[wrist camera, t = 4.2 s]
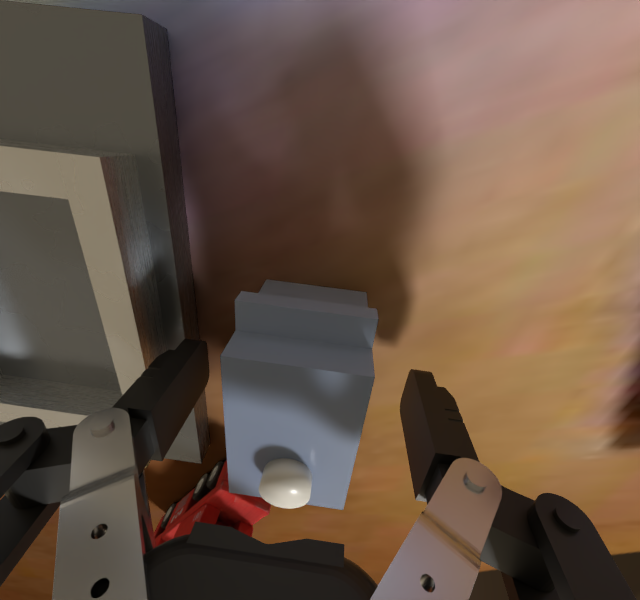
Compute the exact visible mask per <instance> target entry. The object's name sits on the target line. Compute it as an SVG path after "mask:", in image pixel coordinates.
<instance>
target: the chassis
mask: <svg viewBox="0 0 640 600" xmlns="http://www.w3.org/2000/svg"><path fill="white" fill-rule="evenodd" d="M184 339H194V340H199V331H198V322H197V312H196V303H195V293H194V284H193V274H192V264H191V255H190V245H189V236H188V226H187V217H186V207H185V198H184V188H183V179H182V169H181V160H180V150H179V141H178V131H177V122H176V112H175V103H174V93H173V84H172V74H171V64H170V55H169V45H168V36H167V29H165V28H164V27H162V26H160V25H159V24H157V23H155V22H154V21H152V20H150V19H148V18H147V17H145V16H143V15H141V14H131V13H121V12H111V11H101V10H91V9H81V8H70V7H60V6H50V5H40V4H30V3H20V2H10V1H0V425H1V424H3V423H6V422H8V421H11V420H13V419H17V418H21V417H37V418H40V419H41V420H42V421H43V422H44V424H45V426H46V429H48V428H56V427H64V426H72V425H78V424H79V423H80V422H81V421H82V420H83V419H84V418H86V417H87V416H89V415H91V414H92V413H94V412H97V411H99V410H102V409H106V408H112V407H113V406H114V405H115V403H116V402H117V401H118V400H119V399H120V398H121V397H122V396H123V394H124V393H125V392H126V391H127V390H128V389H129V388H130V387H131V385H132V384H133V383H134V382H135V381H136V380H137V379H138V378H139V377H141V374H142V373H143V372H144V371H145V370H146V369H148V366H149V365H150V364H151V363H152V362H153V361H154V360H155V358H156V357H158V356H159V355H161V354H163V353H164V352H166V351H168V350H169V349H170V350H175V349H176V348H177V347H178V346H179V344H180V343H181V342H182V341H183V340H184ZM209 445H210V436H209V426H208V417H207V407H206V398H205V389H204V391H203V392H202V394H201V396H200V397H199V399H198V401H197V403H196V404H195V406H194V408H193V409H192V411H191V413H190V415H189V416H188V418H187V420H186V421H185V423H184V425H183V427H182V428H181V430H180V432H179V433H178V435H177V437H176V438H175V440H174V442H173V444H172V445H171V447H170V449H169V450H168V452H167V454H166V456H165V457H164V458H167V459H173V460H180V461H187V462H194V463H200V464H201V463H202V461H203V459H204V456H205V454H206V452H207V450H208V448H209ZM150 461H151V459H150V460H149V462H148V463H147V465H146V467H147V466H148V464H149V463H150ZM146 467H145V468H146Z"/></svg>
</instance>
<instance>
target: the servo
mask: <svg viewBox="0 0 640 600" xmlns="http://www.w3.org/2000/svg"><path fill="white" fill-rule="evenodd" d="M377 324H378V313H377V309H375V308H368V303H367V292H361V291H353V290H345V289H337V288H330V287H322V286H314V285H306V284H299V283H291V282H283V281H275V280H268V279H266V281H265V283H264V284H263V286H262V288H261V289H260V291H259V293H253V292H245V291H241V292H240V294H239V295H238V296H237V298H236V299H235V327H236V331H235V332H234V334H233V336H232V337H231V339H230V341H229V342H228V344H227V345H226V347H225V349H224V350H223V352H222V354H221V355H220V360H221V375H222V391H223V406H224V422H225V437H226V452H227V468H228V483H229V493H236V494H242V495H249V496H255V497H262V498H263V499H264V500H265V501H266V502H268V503H270V504H272V505H274V506H277V507H281V508H298V507H301V506H304V505H305V504H308V505H314V506H321V507H327V508H334V509H340V510H343V508H344V504H345V500H346V496H347V491H348V487H349V483H350V479H351V475H352V470H353V466H354V462H355V458H356V454H357V449H358V445H359V441H360V437H361V433H362V428H363V424H364V420H365V416H366V412H367V408H368V403H369V399H370V395H371V391H372V387H373V382H374V378H375V375H374V365H373V354H372V347H373V342H374V337H375V333H376V328H377Z"/></svg>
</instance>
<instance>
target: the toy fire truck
mask: <svg viewBox="0 0 640 600" xmlns="http://www.w3.org/2000/svg"><path fill="white" fill-rule="evenodd" d="M270 506H271V504H270V503H268V502H266V501H265V500H264V499H263V498H262V497H255V496H249V495H242V494H236V493H229V483H228V468H227V460H226V461H225V463H224V462H222V461H219V462H218V463H217V464H216V465H215V466H214V468H213V470H212V471H211V473H210V475H209V474H205V475H203V476H202V477H201V479H200V480H199V482H198V484H197V485H196V487H195V488H194V489H193V490H192V491H191V492H189V493H188V494H187V495H186V496H185V497H183V499H181V501H179V502H178V503H173V504H172V505H171V506H170V507H169V509H168V510H167V512H166V514H165V515H164V516H163V517H162V519H161V520H160V522H159V524H158V526H157V528H156V530H155V532H154V537H155V542H156V547H157V546H158V545H160V544H162V543H164V542H166V541H168V540H171V539H173V538H176V537H179V536H183V535H187V534H190V533H191V531H192V528H193V526H194V523H195V521H196V522H202V523H208V524H215V525H221V526H228V527H232V528H234V529H236V530H238V531H240V532H242V533H244V534H246V535H248V536H250V537H252V532H253V524H255V523H256V522H257V521H259V520H260V519H262V518H263V517H264V516H266V515H268V514H269V511H270Z"/></svg>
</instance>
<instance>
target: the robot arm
mask: <svg viewBox="0 0 640 600" xmlns="http://www.w3.org/2000/svg"><path fill="white" fill-rule="evenodd" d="M208 379H209V361H208V351H207V343H206V342H205V341H202V340H194V339H184V340H183V341H182V342H181V343H180V344H179V346H178V347H177V348H176V349H175V350H170V349H169V350H168V351H166V352H164V353H163V354H161V355H159V356H158V357H156V358H155V360H154V361H153V362H152V363H151V364H150V365H149V366H148V369H146V370H145V371H144V372H143V373H142V374H141V377H139V378H138V379H137V380H136V381H135V382H134V383H133V384H132V385H131V387H130V388H129V389H128V390H127V391H126V392H125V393H124V394H123V396H122V397H121V398H120V399H119V400H118V401H117V402H116V403H115V405H114V406H113V407H112V408H106V409H102V410H99V411H97V412H94V413H92V414H91V415H89V416H87V417H86V418H84V419H83V420H82V421H81V422H80V423H79V424H78V425H72V426H64V427H56V428H48V429H46V426H45V424H44V422H43V421H42V420H41V419H40V418H37V417H21V418H17V419H13V420H11V421H8V422H6V423H3V424H1V425H0V498H1V497H2V496H3V495H4V494H5V496H4V497H3V498H2V499H1V500H0V586H1V585H2V583H3V582H4V581H5V579H6V578H7V577H8V575H9V574H10V573H11V571H12V570H13V568H14V567H15V566H16V564H17V563H18V562H19V560H20V559H21V558H22V556H23V555H24V553H25V552H26V551H27V549H28V548H29V547H30V545H31V544H32V542H33V541H34V540H35V538H36V537H37V536H38V534H39V533H40V532H41V530H42V529H43V527H44V526H45V525H46V523H47V522H48V521H49V519H50V518H51V516H52V515H53V514H54V512H55V511H56V510H57V508H58V507H59V506H60V513H59V525H58V537H57V549H56V561H55V573H54V585H53V597H52V600H468V599H469V597H470V594H471V591H472V588H473V586H474V583H475V580H476V577H477V574H478V572H479V569H480V565H481V561H482V562H484V563H486V564H488V565H490V566H492V567H494V568H496V569H498V570H500V571H501V573H502V577H503V580H504V583H505V587H506V590H507V593H508V597H509V600H636V598H635V596H634V595H633V593H632V591H631V589H630V588H629V586H628V584H627V582H626V581H625V579H624V577H623V576H622V574H621V572H620V570H619V569H618V567H617V565H616V563H615V561H614V560H613V558H612V556H611V555H610V553H609V551H608V549H607V548H606V546H605V544H604V542H603V541H602V539H601V537H600V535H599V534H598V532H597V530H596V528H595V527H594V525H593V523H592V522H591V521H590V519H589V518H588V517H587V516H586V515H585V513H584V512H583V511H582V510H580V509H579V508H578V507H577V506H576V505H574V504H573V503H572V502H570V501H569V500H567V499H565V498H563V497H561V496H559V495H556V494H552V493H544V494H541V495H539V496H538V497H537V499H536V500H535V501H534V500H532V499H530V498H527V497H525V496H523V495H520V494H518V493H516V492H514V491H511V490H509V489H507V488H505V487H503V486H502V485H500V483H499V481H498V479H497V478H496V476H495V475H494V474H493V473H492V471H491V470H489V469H488V468H487V467H486V466H485V465H483V464H481V463H480V462H479V460H478V457H477V455H476V452H475V450H474V447H473V445H472V442H471V439H470V437H469V434H468V432H467V429H466V427H465V424H464V423H463V419H462V417H461V414H460V413H459V409H458V407H457V404H456V402H455V399H454V398H453V397H452V395H451V394H450V393H449V392H448V391H447V390H446V388H444V387H437V385H436V382H435V379H434V376H433V374H432V373H431V372H427V371H420V370H413V369H411V370H410V372H409V374H408V378H407V381H406V384H405V388H404V391H403V394H402V398H401V403H400V415H401V420H402V426H403V432H404V437H405V443H406V449H407V454H408V460H409V465H410V471H411V477H412V482H413V488H414V494H415V499H416V500H419V501H425V502H427V507H426V508H425V510H424V512H422V513H421V514H420V516H419V517H418V519H417V521H416V522H415V524H414V526H413V528H412V529H411V531H410V533H409V534H408V536H407V538H406V539H405V541H404V543H403V544H402V546H401V548H400V550H399V551H398V553H397V555H396V556H395V558H394V560H393V561H392V563H391V565H390V567H389V568H388V570H387V572H386V573H385V575H384V577H383V578H382V580H381V582H380V583H379V585H378V586H377V584H376V583H375V582H374V581H373V579H372V578H371V577H370V576H369V575H368V574H367V573H366V572H365V571H364V570H363V569H361V568H360V567H359V566H358V565H356V564H355V563H353V562H352V561H350V560H348V559H346V558H344V544H338V543H331V542H325V541H318V540H312V539H302V540H295V541H289V542H282V543H275V544H264V543H262V542H260V541H258V540H256V539H254V538H252V537H250V536H248V535H246V534H244V533H242V532H240V531H238V530H236V529H234V528H232V527H228V526H221V525H215V524H208V523H202V522H196V521H195V523H194V526H193V528H192V531H191V533H190V534H187V535H183V536H179V537H176V538H173V539H171V540H168V541H166V542H164V543H162V544H160V545H158V546H157V547H156V542H155V537H154V532H153V527H152V521H151V514H150V507H149V500H148V493H147V486H146V479H145V472H144V468H145V467H146V465H147V463H148V462H149V460H150V459H151V460H157V461H163V459H164V457H165V456H166V454H167V452H168V450H169V449H170V447H171V445H172V444H173V442H174V440H175V438H176V437H177V435H178V433H179V432H180V430H181V428H182V427H183V425H184V423H185V421H186V420H187V418H188V416H189V415H190V413H191V411H192V409H193V408H194V406H195V404H196V403H197V401H198V399H199V397H200V396H201V394H202V392H203V391H204V389H205V387H206V385H207V382H208Z"/></svg>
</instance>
